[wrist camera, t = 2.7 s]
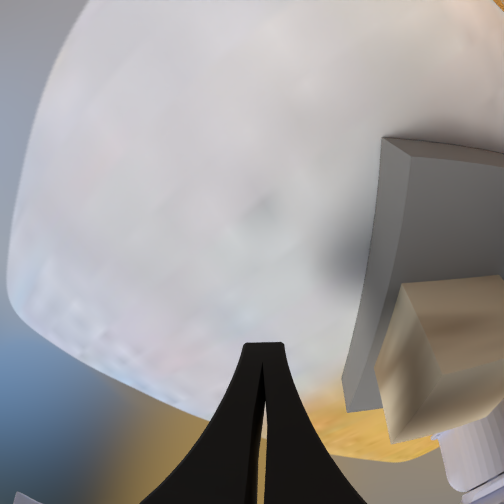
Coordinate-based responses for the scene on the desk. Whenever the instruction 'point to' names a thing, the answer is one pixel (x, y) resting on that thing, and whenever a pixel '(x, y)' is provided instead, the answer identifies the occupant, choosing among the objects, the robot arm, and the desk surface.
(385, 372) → the maple block
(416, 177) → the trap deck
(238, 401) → the robot arm
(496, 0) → the small box
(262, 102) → the desk surface
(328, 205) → the desk surface
